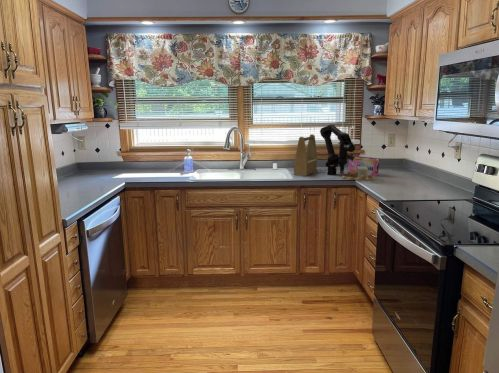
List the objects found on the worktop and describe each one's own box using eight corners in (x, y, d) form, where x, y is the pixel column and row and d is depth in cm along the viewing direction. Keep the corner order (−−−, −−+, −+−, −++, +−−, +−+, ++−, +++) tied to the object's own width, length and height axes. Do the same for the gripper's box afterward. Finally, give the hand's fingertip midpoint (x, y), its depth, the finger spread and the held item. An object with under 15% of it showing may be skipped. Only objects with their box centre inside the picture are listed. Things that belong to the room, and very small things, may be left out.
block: (350, 174, 281) (350, 169, 280) (349, 174, 285) (350, 168, 284) (355, 175, 280) (355, 169, 280) (355, 174, 284) (355, 169, 283)
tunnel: (357, 177, 277) (358, 168, 275) (356, 174, 288) (357, 166, 287) (367, 178, 275) (368, 169, 274) (366, 175, 287) (366, 166, 285)
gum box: (380, 175, 294) (381, 158, 292) (375, 176, 289) (376, 159, 286) (352, 171, 311) (353, 155, 308) (347, 172, 305) (348, 156, 302)
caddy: (306, 176, 288) (308, 136, 282) (293, 174, 293) (294, 136, 287) (316, 170, 314) (318, 134, 308) (304, 169, 319) (306, 134, 312)
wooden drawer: (339, 175, 281) (340, 164, 279) (339, 173, 289) (340, 163, 287) (357, 176, 278) (358, 165, 277) (357, 174, 286) (357, 164, 284)
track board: (342, 178, 279) (342, 176, 279) (341, 175, 291) (342, 174, 290) (373, 180, 275) (373, 178, 274) (371, 177, 286) (371, 175, 286)
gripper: (355, 152, 270) (353, 173, 273) (353, 149, 288) (352, 169, 291) (339, 151, 272) (337, 172, 276) (338, 149, 290) (337, 168, 294)
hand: (341, 171), depth 284 cm, fingers closed on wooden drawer, 3 cm apart
